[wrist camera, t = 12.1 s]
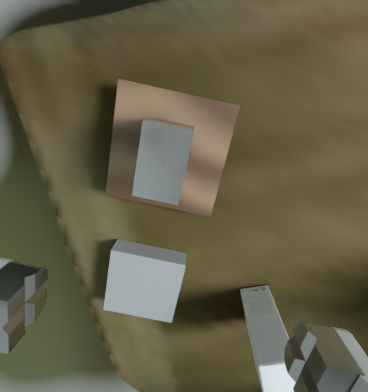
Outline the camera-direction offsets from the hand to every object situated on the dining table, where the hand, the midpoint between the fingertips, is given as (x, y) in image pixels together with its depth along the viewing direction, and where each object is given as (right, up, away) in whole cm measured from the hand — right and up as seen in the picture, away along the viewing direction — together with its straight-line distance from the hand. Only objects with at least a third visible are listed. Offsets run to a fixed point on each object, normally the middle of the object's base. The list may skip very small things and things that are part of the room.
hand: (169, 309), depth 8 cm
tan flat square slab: (-1, +9, +23) cm, 25 cm away
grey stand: (-5, -8, +29) cm, 31 cm away
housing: (-1, +8, +20) cm, 22 cm away
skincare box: (+11, -12, +30) cm, 35 cm away
